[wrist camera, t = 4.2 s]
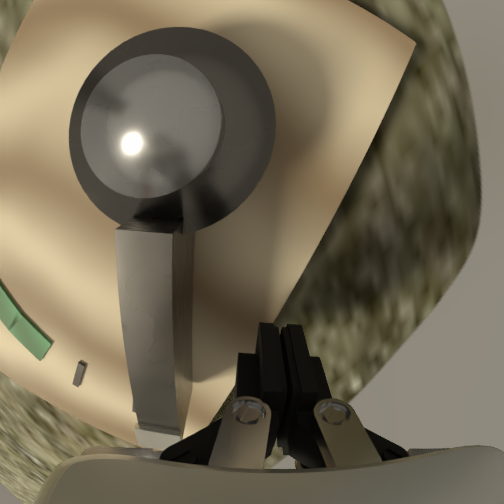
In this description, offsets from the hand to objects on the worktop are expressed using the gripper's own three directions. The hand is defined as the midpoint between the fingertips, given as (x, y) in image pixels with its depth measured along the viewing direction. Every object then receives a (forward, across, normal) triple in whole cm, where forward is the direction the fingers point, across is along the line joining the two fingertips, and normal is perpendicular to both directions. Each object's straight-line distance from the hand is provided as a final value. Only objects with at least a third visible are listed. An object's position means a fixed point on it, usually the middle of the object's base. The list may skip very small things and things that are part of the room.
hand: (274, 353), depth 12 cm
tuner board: (+3, +8, -4) cm, 9 cm away
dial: (+1, +4, -4) cm, 6 cm away
